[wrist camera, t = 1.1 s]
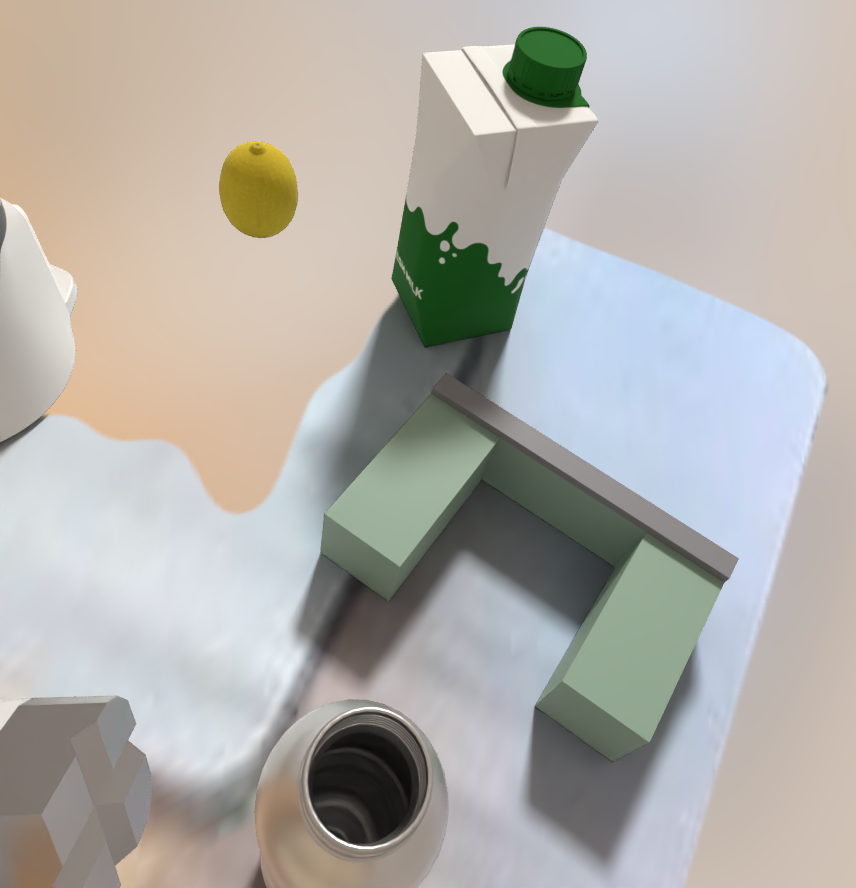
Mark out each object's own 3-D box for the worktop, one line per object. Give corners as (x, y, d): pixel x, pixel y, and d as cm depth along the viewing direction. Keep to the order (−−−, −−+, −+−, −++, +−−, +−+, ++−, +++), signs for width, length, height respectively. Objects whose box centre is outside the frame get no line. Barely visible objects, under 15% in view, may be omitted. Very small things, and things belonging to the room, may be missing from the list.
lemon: (307, 251, 58) (311, 163, 52) (236, 266, 56) (231, 177, 50) (281, 203, 61) (281, 113, 54) (213, 216, 59) (204, 125, 52)
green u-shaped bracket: (320, 552, 45) (325, 508, 41) (431, 423, 52) (446, 372, 47) (612, 762, 42) (654, 739, 37) (694, 595, 48) (738, 558, 43)
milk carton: (527, 336, 57) (627, 91, 41) (415, 360, 54) (475, 107, 38) (479, 254, 61) (553, 1, 45) (373, 272, 58) (411, 8, 42)
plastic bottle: (247, 923, 35) (217, 910, 18) (276, 766, 39) (273, 638, 22) (386, 938, 36) (479, 938, 19) (402, 781, 39) (491, 668, 23)
